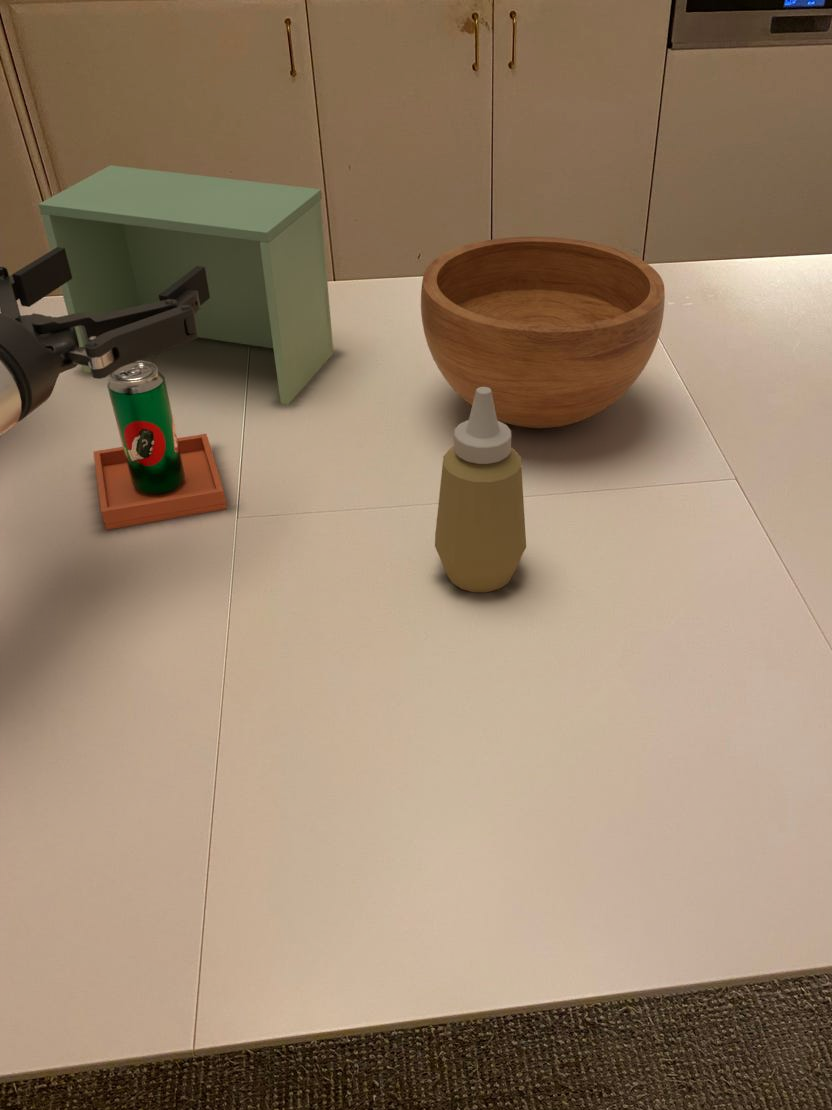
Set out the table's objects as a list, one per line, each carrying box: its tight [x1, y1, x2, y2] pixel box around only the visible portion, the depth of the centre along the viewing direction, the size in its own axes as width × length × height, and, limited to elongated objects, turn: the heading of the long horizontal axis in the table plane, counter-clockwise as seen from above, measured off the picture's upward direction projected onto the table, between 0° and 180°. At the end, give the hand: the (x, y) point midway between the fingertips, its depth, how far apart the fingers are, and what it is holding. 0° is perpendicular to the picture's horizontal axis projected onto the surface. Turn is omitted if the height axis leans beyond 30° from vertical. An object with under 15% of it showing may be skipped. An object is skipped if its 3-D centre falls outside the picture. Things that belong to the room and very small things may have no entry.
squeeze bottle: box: [434, 387, 527, 593], centre depth 82 cm, size 8×8×18 cm
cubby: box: [37, 165, 335, 406], centre depth 112 cm, size 14×26×19 cm, turn 74°
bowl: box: [420, 236, 666, 429], centre depth 105 cm, size 25×25×15 cm
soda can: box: [106, 360, 185, 495], centre depth 93 cm, size 5×5×12 cm
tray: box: [92, 433, 228, 531], centre depth 97 cm, size 11×11×2 cm
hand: (133, 272), depth 86 cm, fingers open, 13 cm apart
